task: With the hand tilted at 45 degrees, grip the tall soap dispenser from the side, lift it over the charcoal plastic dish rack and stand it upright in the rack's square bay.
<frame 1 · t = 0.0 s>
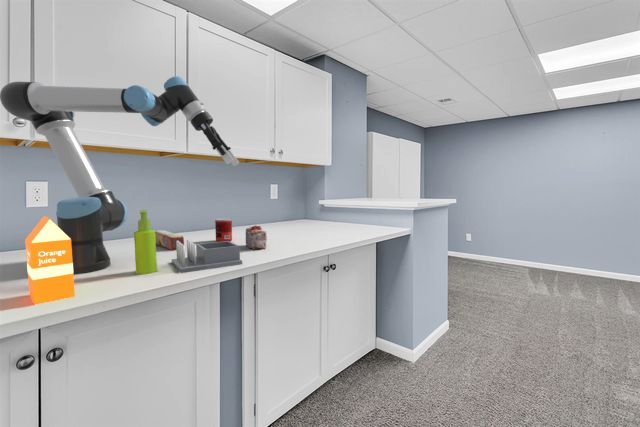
hand: (233, 163, 121), 36 cm above the worktop, tool tilted 35°, fingers open, 13 cm apart
canned food: (224, 241, 157), on the worktop
dish rack: (206, 263, 113), on the worktop
orange juice: (52, 297, 79), on the worktop
food item: (255, 247, 142), on the worktop
snack package: (169, 247, 143), on the worktop
soap dispenser: (146, 272, 102), on the worktop
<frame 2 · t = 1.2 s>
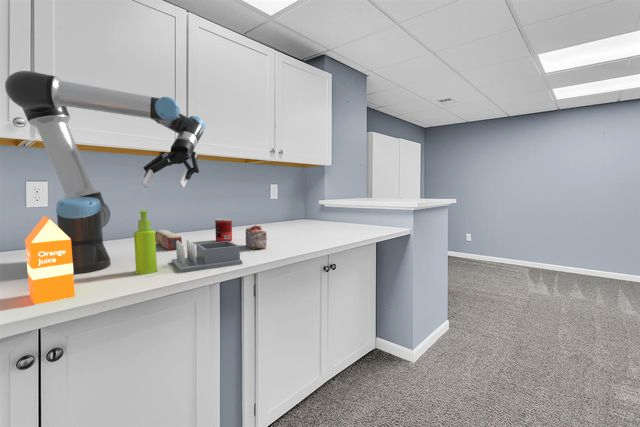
hand: (162, 185, 109), 28 cm above the worktop, tool tilted 45°, fingers open, 13 cm apart
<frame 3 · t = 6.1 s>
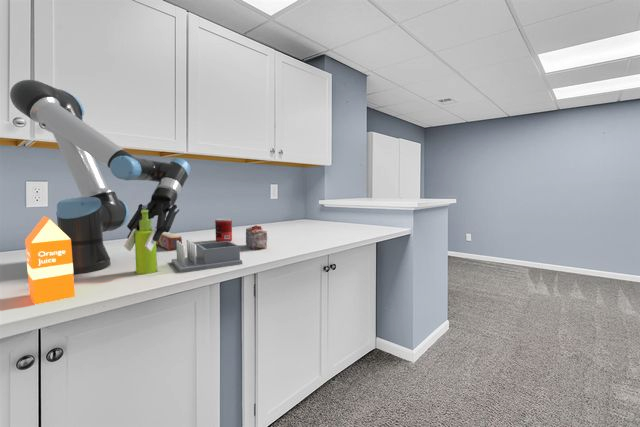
hand: (137, 248, 97), 8 cm above the worktop, tool tilted 45°, fingers closed on soap dispenser, 6 cm apart
soap dispenser: (146, 272, 102), on the worktop, touching gripper
when the fingers open (11 cm above the worktop, at t = 11.4 s): soap dispenser drops 1 cm, resting on dish rack.
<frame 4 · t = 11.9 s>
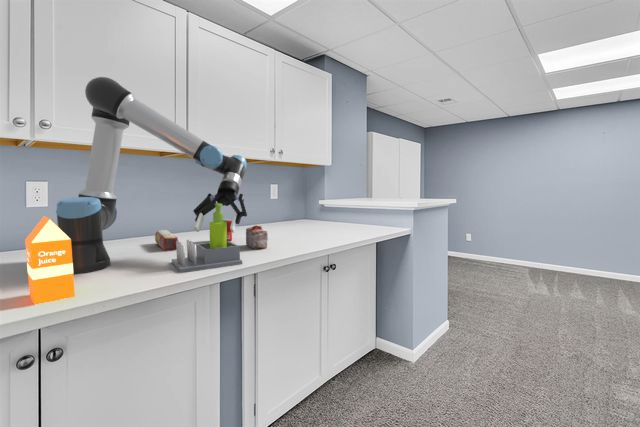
hand: (214, 230, 112), 12 cm above the worktop, tool tilted 45°, fingers open, 12 cm apart
soap dispenser: (218, 258, 115), point 1 cm above the worktop, touching dish rack
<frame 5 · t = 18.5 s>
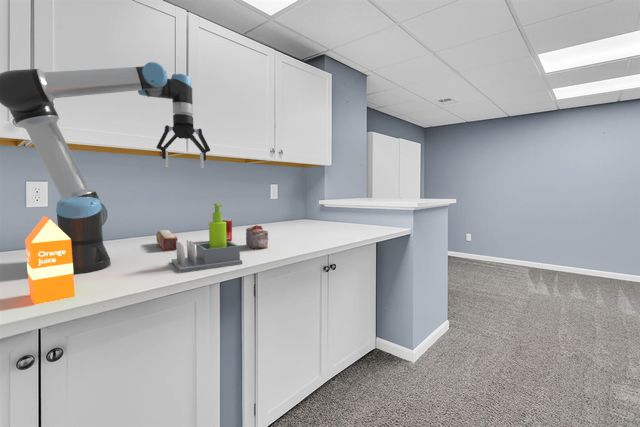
hand: (184, 168, 131), 35 cm above the worktop, tool pointing down, fingers open, 13 cm apart
at the end: soap dispenser inside the target area (0.3 cm from its centre), point 1.0 cm above the worktop; soap dispenser tilted 0°; the gripper is holding nothing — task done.
